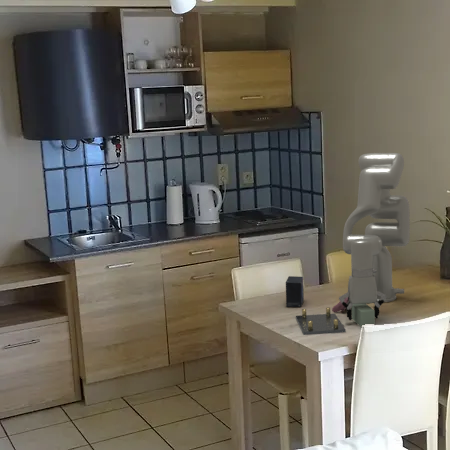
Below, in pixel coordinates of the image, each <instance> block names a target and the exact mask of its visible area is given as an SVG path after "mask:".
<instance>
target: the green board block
mask: <svg viewBox="0 0 450 450" xmlns="http://www.w3.org/2000/svg"><path fill="white" fill-rule="evenodd" d="M351 310H352V321H354V322H355V323H356V324H357V325H358V326H359V327H360V328H362V327H361V326H362V325H365V324H375V325H376V323H375V322H376V320H375V319H376V318H375V310H374V308H372V307H371V306H369V305H368V304H353V306H352V307H351Z"/></svg>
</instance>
